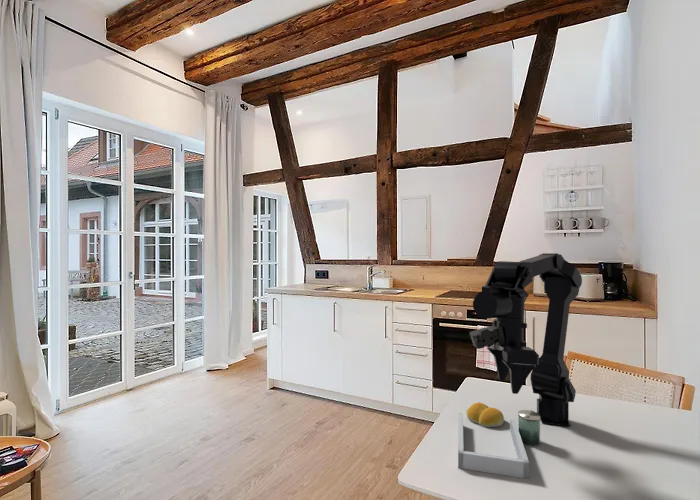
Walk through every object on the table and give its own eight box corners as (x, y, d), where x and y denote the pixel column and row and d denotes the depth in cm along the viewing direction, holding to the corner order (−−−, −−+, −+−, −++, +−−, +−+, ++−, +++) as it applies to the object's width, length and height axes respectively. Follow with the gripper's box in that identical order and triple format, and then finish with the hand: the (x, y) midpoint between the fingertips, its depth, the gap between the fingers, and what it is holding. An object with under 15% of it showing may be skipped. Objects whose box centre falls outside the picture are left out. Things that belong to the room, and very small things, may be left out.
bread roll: (494, 431, 92) (494, 415, 92) (461, 419, 99) (461, 404, 99) (510, 422, 98) (510, 406, 98) (478, 411, 104) (478, 396, 105)
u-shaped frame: (514, 431, 92) (514, 419, 92) (529, 478, 73) (529, 462, 73) (458, 424, 95) (458, 412, 95) (458, 467, 76) (458, 452, 76)
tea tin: (538, 438, 89) (538, 411, 89) (542, 447, 84) (542, 419, 85) (516, 435, 90) (516, 409, 90) (519, 444, 86) (519, 417, 86)
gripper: (465, 310, 96) (462, 372, 96) (484, 320, 78) (481, 397, 77) (510, 312, 95) (508, 376, 95) (541, 323, 77) (538, 402, 76)
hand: (508, 386), depth 86 cm, fingers open, 9 cm apart
